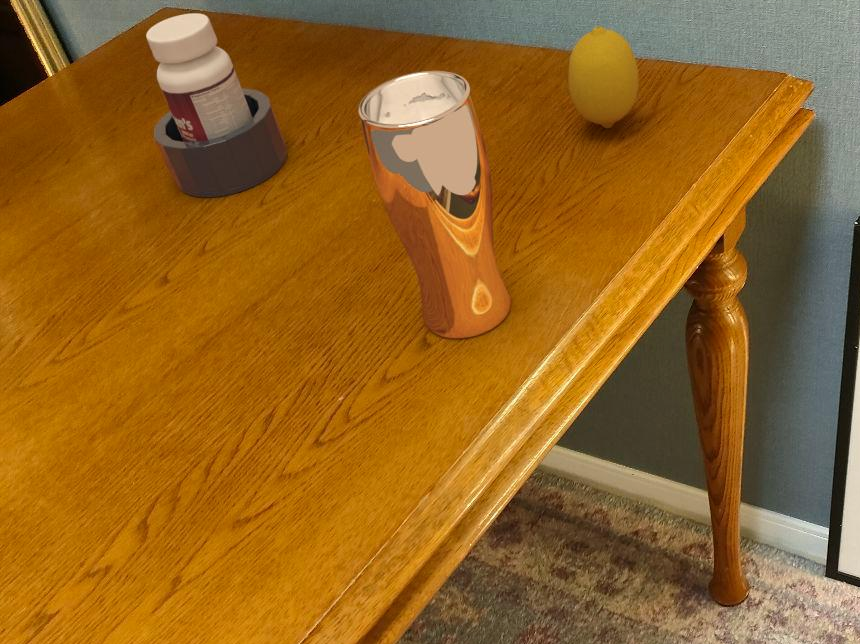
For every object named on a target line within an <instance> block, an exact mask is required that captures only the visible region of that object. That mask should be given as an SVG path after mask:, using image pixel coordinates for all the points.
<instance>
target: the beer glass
mask: <svg viewBox="0 0 860 644" xmlns="http://www.w3.org/2000/svg"><path fill="white" fill-rule="evenodd" d="M358 116H359V117H360V122H361V125H362V131H363V136H364V141H365V146H366V150H367V154H368V159H369V163H370V167H371V170H372V175H373V178H374V182H375V185H376V189H377V191H378V194H379V197H380V200H381V203H382V204H383V206H384V209H385V210H386V213H387V215H388V218H389V220H390V222H391V224H392V226H393V229H394V230H395V232H396V234H397V236H398V238H399V240H400V242H401V244H402V246H403V248H404V250H405V252H406V254H407V256H408V257H409V260H410V262H411V264H412V266H413V268H414V272H415V274H416V277H417V281H418V286H419V290H420V300H421V301H420V302H421V313H422V319H423V322H424V324H425V327H426V328H427V329H428V330H429V331H430V332H431V333H433V334H435V335H436V336H439V337H442V338H447V339H458V340H459V339H467V338H468V339H469V338H473V337H477V336H481V335H483V334H485V333H487V332H489V331H491V330H493V329H495V328H496V327H497V326H499V325H500V324H501V323H502V322H503V321H504V320H505V319H506V317H507V316H508V314H509V312H510V311H511V304H512V303H511V297H510V294H509V291H508V289H507V285H506V283H505V282H504V280H503V278H502V275H501V273H500V270H499V267H498V263H497V260H496V259H497V258H496V254H495V247H494V216H493V215H494V214H493V208H494V207H493V189H492V187H493V186H492V174H491V167H490V163H489V156H488V151H487V146H486V142H485V138H484V133H483V130H482V126H481V123H480V119H479V117H478V112H477V110H476V107H475V103H474V99H473V96H472V93H471V86H470V83H469V82H468V81H467V79H465V77H463V76H461V75H460V74H457V73H455V72H449V71H445V70H443V71H442V70H425V71H416V72H412V73H408V74H404V75H400V76H397V77H394V78H392V79H389V80H387V81H385V82H383V83H381V84H379V85H377V86H376V87H373V89H371V90H370V91H368V92H367V94H366V95H365V96H364V97H363V98H362V99H361V101H360V103H359V105H358Z"/></svg>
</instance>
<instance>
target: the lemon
mask: <svg viewBox="0 0 860 644" xmlns="http://www.w3.org/2000/svg"><path fill="white" fill-rule="evenodd" d="M567 73H568V74H567V80H568V82H567V83H568V90H569V94H570V97H571V98H570V99H571V100H572V103H573V105H574V107H575V108H576V109H575V110H577V112H578V113H579V115H581V116H582V117H583V118H584V119H585V120H586V121H589V122H591V123H593V124H596V125H600V126H602V127H603V128H604V129H611V128H612V127H613V126H614V125H615V123H617V122H619V121H621V120H622V119H624V118H625V117H626V116H627V115H628V114H629V113H630V111H631V110H632V108H633V107H634V105H635V103H636V100H637V96H638V91H639V80H640V79H639V69H638V64H637V60H636V57H635V55H634V51H633V49H632V47H631V45H630V43H629V42H628V41H627V39H626V38H624V36H622V35H621V34H620V33H618V32H616V31H614V30H611V29H607V28H604V27H603V26H601V25H599V26H595V27H593V29H592V30H590V31H589V32H587V33H585V34H584V35H583V36H582V37H580V39H579V40H578V41H577V42H576V44H575V45H574V47H573V49H572V51H571V53H570V57H569V62H568V71H567Z"/></svg>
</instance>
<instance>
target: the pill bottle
mask: <svg viewBox="0 0 860 644" xmlns="http://www.w3.org/2000/svg"><path fill="white" fill-rule="evenodd" d="M145 37H146V40H147V43H148V45H149V48H150V50H151V53H152V56H153V58H154V60H155V61H156V62H158V63H159V65H158V66H157V68H156V69H157V70H156V80H157V83H158V85H159V88H160V90H161V93H162V95H163V97H164V99H165V101H166V104H167V107H168V109H169V112H170V111H171V113H172V116H173V118H174V120H175V123H176V125H177V127H178V129H179V132H180V134H181V136H182V139H183V141H184V142H196V141H206V140H210V139H213V138H217V137H221V136H224V135H226V134H228V133H230V132H232V131H234V130H236V129H239V128H241V127H242V126H243V125H245V124H246V123H247V122H249V121H250V120H251V119H253V118H252V115H251V112H250V110H249V107H248V104H247V102H246V99H245V96H244V94H243V91H242V88H243V87H242V86H241V83H240V80H239V77H238V75H237V72H236V69H235V67H234V64H233V61H232V59H231V57H230V55H229V54H228V52H226V50H225V49H223V48H221V47H219V46H217V45H218V37H217V35H216V33H215V30H214V28H213V25H212V23H211V20H210V18H209V16H208V15H205V14H203V13H197V12H196V13H195V12H194V13H184V14H180V15H175V16H172V17H169V18H166V19H163V20H162V21H159V22H158V23H155V24H154V25H153V26H151V27H150V28H149V29H148V31H147V32H146V34H145Z"/></svg>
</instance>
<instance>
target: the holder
mask: <svg viewBox="0 0 860 644" xmlns="http://www.w3.org/2000/svg"><path fill="white" fill-rule="evenodd" d="M241 88H242V91H243V94H244V96H245V99H246V102H247V104H248V107H249V110H250V112H251V115H252V118H253V119H251V120H250V121H249V122H247V123H246V124H245V125H243V126H242V127H241V128H239V129H236V130H234V131H232V132H230V133H228V134H226V135H224V136H221V137H217V138H213V139H210V140H206V141H196V142H184V141H183V139H182V136H181V134H180V132H179V129H178V127H177V125H176V123H175V120H174V118H173V116H172V113H171V111H170V110H169V111H168V112H166V113H165V114H164V115H163V116H162V117H161V118H160V119H159V121H158V122H157V123H156V125H155V126H154V128H153V131H154V132H153V138H154V142H155V143H156V145H157V148H158V150H159V152H160V154H161V157H162V159H163V161H164V163H165V165H166V167H167V169H168V171H169V173H170V176H171V178H172V180H173V182H174V183H175V185H176V186H177V188H178V189H179V190H180V192H182V193H184V194H185V195H188V196H191V197H195V198H221V197H225V196H230V195H234V194H238V193H241V192H244V191H247V190H249V189H251V188H254V187H256V186H259V185H260V184H262V183H263V182H266V181H267V180H269V179H270V178H271V177H273V176H274V175H275V174H276V173H277V172H279V171H280V169H281V168H282V167H283V166H284V164H286V161H287V158H288V149H287V145H286V142H285V138H284V136H283V133H282V130H281V127H280V125H279V122H278V119H277V116H276V114H275V111H274V108H273V106H272V103H271V100H270V98H269V96H267V95H266V94H265V93H263V92H261V91H259V90H258V89H251V88H243V87H241Z"/></svg>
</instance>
